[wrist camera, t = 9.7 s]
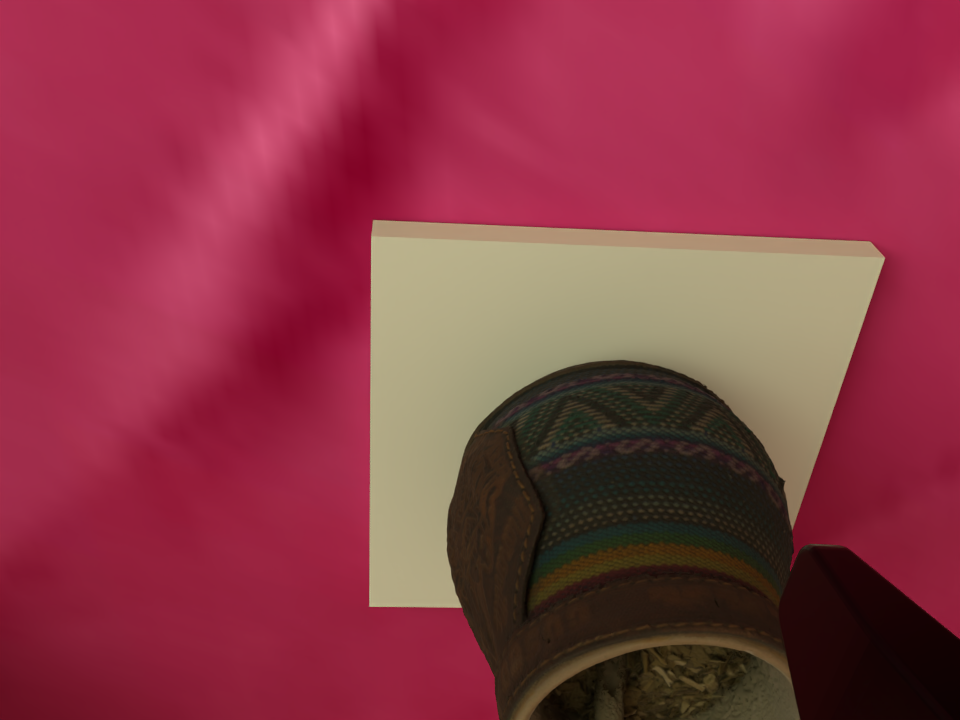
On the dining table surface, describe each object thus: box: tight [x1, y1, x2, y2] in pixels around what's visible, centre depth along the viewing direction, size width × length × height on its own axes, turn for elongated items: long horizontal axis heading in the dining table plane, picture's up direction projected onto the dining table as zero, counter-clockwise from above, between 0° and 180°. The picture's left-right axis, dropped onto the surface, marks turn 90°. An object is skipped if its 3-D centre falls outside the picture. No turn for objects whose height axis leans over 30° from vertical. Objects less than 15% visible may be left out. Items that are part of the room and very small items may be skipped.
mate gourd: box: [447, 360, 800, 720], centre depth 18 cm, size 7×8×10 cm
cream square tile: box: [369, 220, 885, 608], centre depth 23 cm, size 11×11×1 cm
